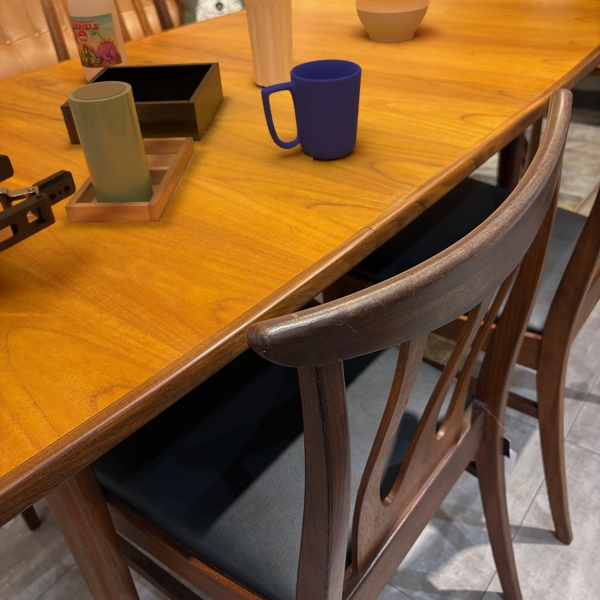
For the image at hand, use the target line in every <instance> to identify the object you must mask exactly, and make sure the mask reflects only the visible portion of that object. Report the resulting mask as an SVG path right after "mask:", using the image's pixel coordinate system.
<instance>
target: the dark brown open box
mask: <svg viewBox="0 0 600 600" xmlns="http://www.w3.org/2000/svg"><path fill="white" fill-rule="evenodd" d="M107 81H118V82H125V83H128V84H129V85H131V87H132V92H133V96H134V101H135V105H136V110H137V115H138V119H139V124H140V128H141V133H142V137H143V139H146V138H183V137H186V138H187V137H193V142H201V140H202V139H203V137H204V135H205V133H206V132H208V131H209V129H210V127H211V126H212V125H211V124H212V123H213V121H214V119H215V117H216V115H217V113H218V111H219V110H220V108H221V105H222V103H223V101H224V100H225V99H224V92H223V85H222V76H221V69H220V63H219V62H218V61H216V62H212V61H211V62H188V63H187V62H186V63H165V64H164V63H163V64H161V63H160V64H136V65H135V64H134V65H133V64H132V65H129V66H110V67H109V66H108V67H104V68H103V69H102V70H101V71H100V72H98V73H97V74H96V75H95V76H94V77H93V78H92V79H91V80H89V81H87V82H86V83H85V84H84V85H87V84H92V83H97V82H107ZM59 108H60V110H61V114H62V118H63V121H64V125H65V128H66V131H67V134H68V138H69V141H70V145H81V143H80V140H79V136H78V133H77V129H76V125H75V122H74V118H73V115H72V111H71V108H70V104H69V101H68V99H66V101H64V103H63V104H61V105H60V107H59Z"/></svg>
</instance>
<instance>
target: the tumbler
mask: <svg viewBox="0 0 600 600" xmlns="http://www.w3.org/2000/svg"><path fill="white" fill-rule="evenodd" d="M66 97H67V100H68V101H69V104H70V108H71V111H72V115H73V118H74V122H75V125H76V129H77V133H78V136H79V140H80V143H81V144H80V146H81V150H82V153H83V157H84V161H85V164H86V168H87V172H88V176H89V175H90V178H91V182H92V186H93V189H94V193H95V196H96V200H97V203H118V202H150V200H151V199H152V197H153V195H154V193H155V192H154V188H153V183H152V179H151V174H150V169H149V165H148V160H147V156H146V151H145V147H144V142H143V137H142V133H141V128H140V124H139V119H138V115H137V110H136V105H135V101H134V96H133V92H132V87H131V85H129V84H128V83H125V82H118V81H107V82H97V83H92V84H87V85H85V84H83V85H80V86H79V87H76V88H74V89H72V90H70V91H69V92H68V93H67V96H66Z"/></svg>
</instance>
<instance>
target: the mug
mask: <svg viewBox="0 0 600 600" xmlns="http://www.w3.org/2000/svg"><path fill="white" fill-rule="evenodd" d="M362 71H363V70H362V67H361V66H360V64H358V63H357V62H354V61H350V60H345V59H337V58H336V59H331V58H329V59H318V60H317V59H316V60H311V61H306V62H302V63H299V64H297V65H295V66H293V69H292V70H291V72H290V77H291V82H286V83H280V84H275V85H271V86H268V87H265V86H264V87H262V88H261V89H260V96H261V102H262V109H263V113H264V117H265V122H266V126H267V130H268V133H269V135H270V137H271V140H272V141H273V142H274V144H275V145H276V146H277V147H279V148H280V149H283V150H291V149H293V148H296V147H297V146H298V145H299V144H300V147H301V150H302V151H303V153H304V154H305V155H307V156H308V157H312V158H313V159H317V160H336V159H340V158H343V157H346V156H348V155H349V154H351V152H353V151H354V149H355V146H356V144H357V137H358V123H359V111H360V110H359V109H360V97H361V84H362V83H361V82H362ZM283 91H289V93H290V95H291V99H292V104H293V105H292V106H293V110H294V116H295V117H294V118H295V125H296V138H294V139H293V140H290V141H287V142H286V141H282V140H281V138H280V137H279V135H278V134H277V130H276V127H275V124H274V119H273V115H272V109H271V103H270V102H271V101H270V96H271V95H272V94H275V93H278V92H283Z"/></svg>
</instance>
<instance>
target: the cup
mask: <svg viewBox="0 0 600 600" xmlns="http://www.w3.org/2000/svg"><path fill="white" fill-rule="evenodd" d="M292 1H293V0H243V2H244V7H245V15H246V23H247V28H248V29H247V30H248V37H249V43H250V51H251V57H252V65H253V72H254V81H255V84H256V85H258V86H259V87H264V88H265V87H268V86H271V85H275V84H280V83H286V82H291V77H290V72H291V70H292V69H293V68H294V49H293V46H294V45H293V12H292V11H293V8H292V7H293V4H292Z"/></svg>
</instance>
